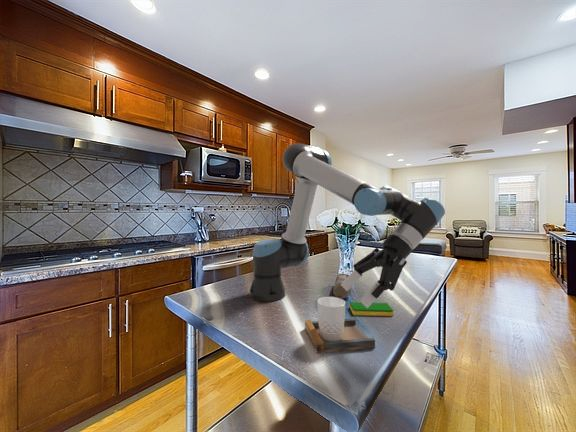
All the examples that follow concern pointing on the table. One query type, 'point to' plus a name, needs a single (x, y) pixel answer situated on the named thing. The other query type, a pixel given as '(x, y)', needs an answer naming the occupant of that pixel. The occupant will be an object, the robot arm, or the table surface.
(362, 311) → the dish sponge
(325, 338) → the white cup
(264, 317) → the table surface
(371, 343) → the wooden tray
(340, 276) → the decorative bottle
